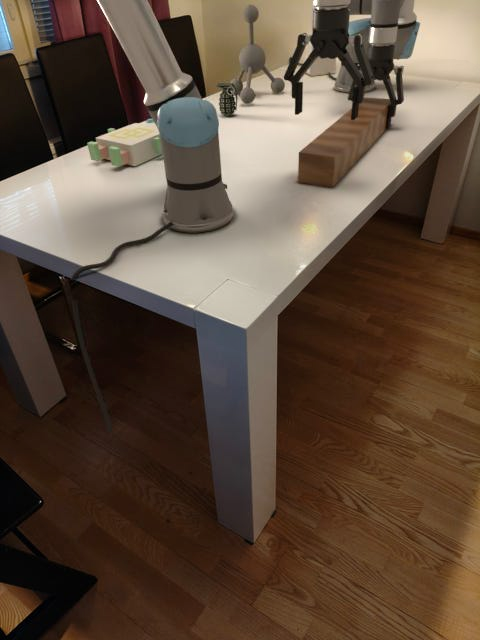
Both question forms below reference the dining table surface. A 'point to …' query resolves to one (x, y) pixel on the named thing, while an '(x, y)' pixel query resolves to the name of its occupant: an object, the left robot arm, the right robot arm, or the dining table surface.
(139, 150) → the decorative block
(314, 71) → the electronic device
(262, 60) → the molecular model
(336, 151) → the wooden square beam
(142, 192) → the dining table surface
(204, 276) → the dining table surface
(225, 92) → the grenade
